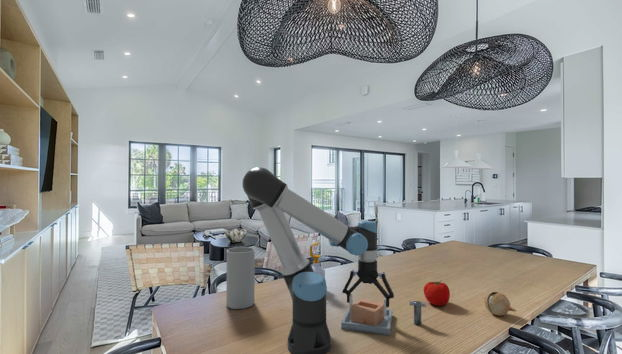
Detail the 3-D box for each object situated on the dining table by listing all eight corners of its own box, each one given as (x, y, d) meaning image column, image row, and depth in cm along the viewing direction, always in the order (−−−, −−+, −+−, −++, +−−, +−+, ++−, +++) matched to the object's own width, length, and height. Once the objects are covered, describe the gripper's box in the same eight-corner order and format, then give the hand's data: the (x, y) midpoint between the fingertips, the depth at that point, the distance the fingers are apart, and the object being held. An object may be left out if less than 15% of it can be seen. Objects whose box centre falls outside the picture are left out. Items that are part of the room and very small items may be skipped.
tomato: (451, 301, 146) (451, 279, 146) (448, 311, 135) (447, 287, 135) (426, 297, 152) (426, 275, 152) (421, 306, 141) (420, 283, 141)
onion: (489, 288, 140) (518, 290, 126) (496, 309, 138) (527, 314, 124) (473, 294, 137) (501, 297, 123) (480, 316, 135) (510, 321, 121)
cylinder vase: (226, 311, 135) (226, 253, 136) (226, 300, 147) (226, 247, 148) (255, 308, 138) (255, 251, 139) (253, 298, 151) (253, 246, 151)
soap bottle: (323, 293, 156) (323, 244, 156) (305, 292, 158) (305, 244, 158) (326, 287, 165) (326, 241, 165) (309, 286, 167) (309, 240, 167)
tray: (389, 335, 114) (389, 328, 114) (341, 328, 119) (341, 322, 119) (392, 315, 131) (392, 309, 131) (349, 310, 136) (349, 304, 136)
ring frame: (384, 318, 126) (384, 303, 126) (372, 330, 116) (372, 313, 117) (361, 312, 132) (361, 298, 132) (348, 323, 122) (348, 308, 122)
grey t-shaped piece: (425, 326, 121) (425, 304, 121) (409, 324, 123) (409, 302, 123) (425, 323, 123) (425, 301, 124) (409, 321, 125) (409, 300, 125)
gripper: (400, 259, 125) (400, 312, 125) (339, 255, 132) (339, 305, 132) (399, 264, 118) (400, 320, 118) (335, 259, 125) (335, 312, 125)
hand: (367, 312), depth 125 cm, fingers open, 13 cm apart
